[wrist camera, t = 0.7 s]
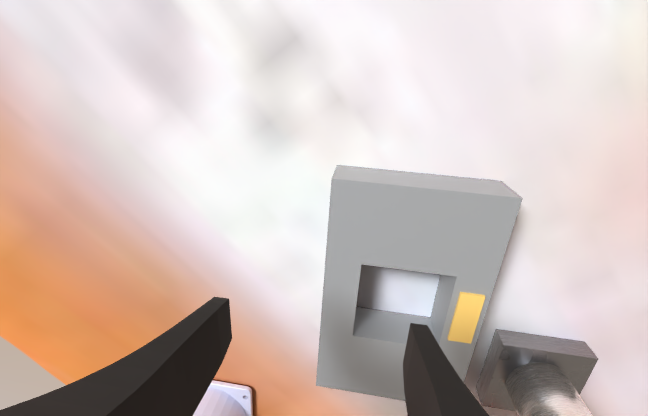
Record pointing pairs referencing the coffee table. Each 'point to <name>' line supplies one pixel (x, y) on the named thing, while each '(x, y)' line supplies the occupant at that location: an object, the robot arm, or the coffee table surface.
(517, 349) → the gray square base plate
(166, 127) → the coffee table surface
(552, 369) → the metal peg
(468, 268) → the hole board
